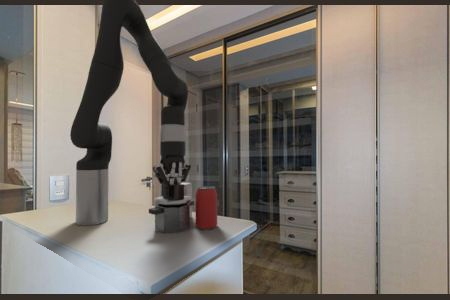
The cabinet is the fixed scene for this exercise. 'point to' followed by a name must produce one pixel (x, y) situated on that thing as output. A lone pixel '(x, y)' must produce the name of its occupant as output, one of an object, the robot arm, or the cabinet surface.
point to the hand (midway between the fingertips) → (173, 197)
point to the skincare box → (188, 193)
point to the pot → (172, 217)
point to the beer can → (206, 207)
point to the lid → (177, 196)
